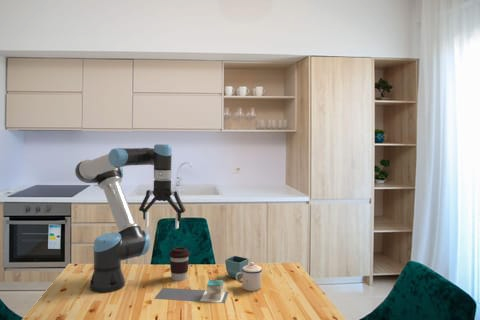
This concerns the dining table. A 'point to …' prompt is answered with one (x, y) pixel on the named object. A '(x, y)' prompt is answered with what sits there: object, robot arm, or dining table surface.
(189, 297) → the charcoal mat
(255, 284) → the teacup with lid
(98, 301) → the dining table surface
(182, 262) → the coffee cup
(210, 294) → the birch cube
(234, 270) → the flower pot
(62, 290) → the dining table surface
